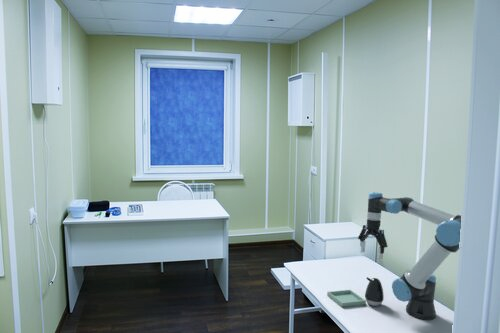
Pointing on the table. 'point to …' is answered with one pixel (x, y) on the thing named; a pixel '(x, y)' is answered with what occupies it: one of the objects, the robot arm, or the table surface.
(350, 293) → the tray
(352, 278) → the table surface
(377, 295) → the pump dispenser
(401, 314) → the table surface
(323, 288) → the table surface
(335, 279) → the table surface
